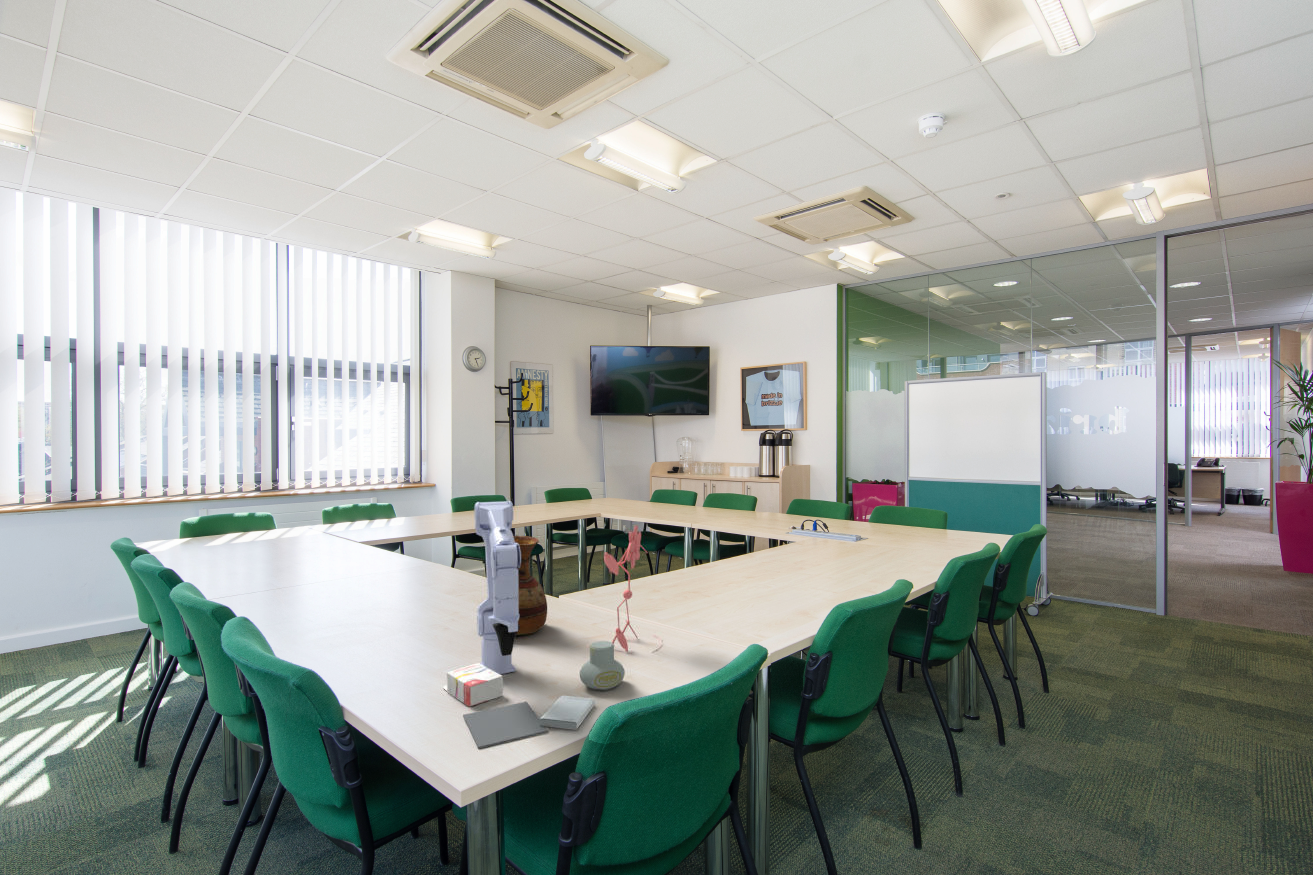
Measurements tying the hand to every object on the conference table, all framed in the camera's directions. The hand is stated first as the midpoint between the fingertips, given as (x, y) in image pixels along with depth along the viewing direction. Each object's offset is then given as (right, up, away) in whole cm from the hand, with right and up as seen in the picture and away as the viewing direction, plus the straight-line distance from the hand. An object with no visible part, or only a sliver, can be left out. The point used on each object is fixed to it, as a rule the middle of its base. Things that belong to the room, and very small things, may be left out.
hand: (506, 654), depth 142 cm
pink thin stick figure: (+29, -10, +34) cm, 46 cm away
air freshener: (+22, -10, +6) cm, 25 cm away
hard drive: (+16, -9, -11) cm, 22 cm away
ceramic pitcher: (-9, -11, +50) cm, 52 cm away
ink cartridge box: (-4, -7, -3) cm, 9 cm away
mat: (+3, -10, -14) cm, 18 cm away
